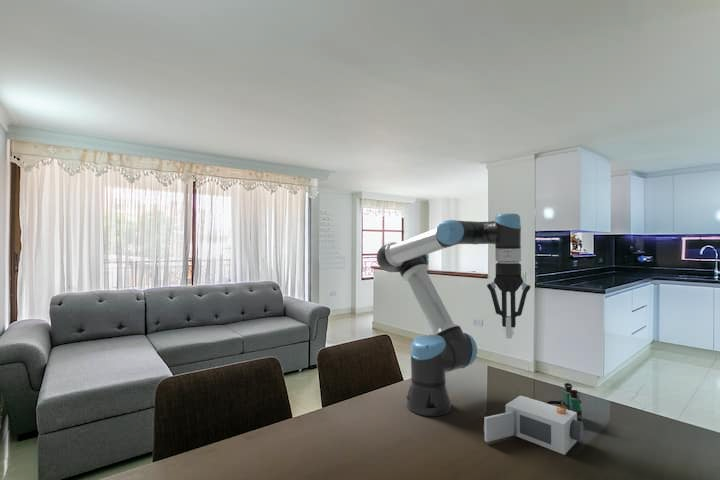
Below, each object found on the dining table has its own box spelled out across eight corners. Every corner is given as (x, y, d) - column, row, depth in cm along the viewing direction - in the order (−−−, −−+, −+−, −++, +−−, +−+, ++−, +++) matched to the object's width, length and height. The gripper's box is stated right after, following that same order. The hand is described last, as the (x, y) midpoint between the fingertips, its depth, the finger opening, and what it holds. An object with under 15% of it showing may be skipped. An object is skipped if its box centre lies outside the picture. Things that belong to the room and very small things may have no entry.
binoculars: (540, 382, 120) (573, 381, 118) (544, 414, 120) (577, 414, 118) (549, 393, 112) (584, 392, 110) (553, 427, 111) (589, 427, 109)
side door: (513, 432, 105) (512, 409, 106) (517, 434, 104) (517, 412, 104) (483, 439, 102) (482, 416, 102) (487, 442, 100) (486, 418, 100)
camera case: (505, 432, 107) (505, 402, 107) (520, 420, 114) (520, 392, 114) (572, 458, 94) (572, 424, 94) (585, 443, 101) (584, 412, 101)
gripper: (484, 262, 114) (485, 337, 114) (530, 263, 108) (531, 342, 107) (488, 261, 121) (489, 332, 120) (531, 262, 114) (532, 337, 114)
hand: (509, 337), depth 114 cm, fingers closed
